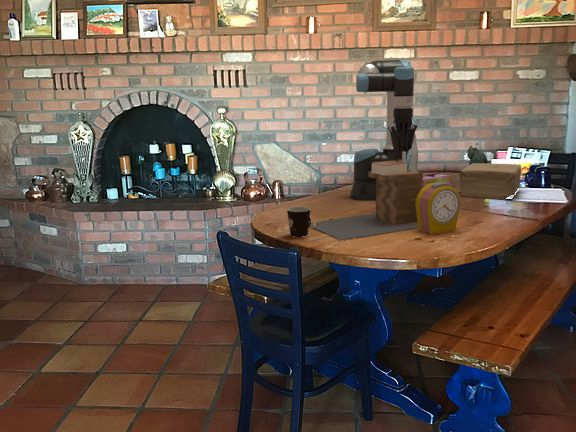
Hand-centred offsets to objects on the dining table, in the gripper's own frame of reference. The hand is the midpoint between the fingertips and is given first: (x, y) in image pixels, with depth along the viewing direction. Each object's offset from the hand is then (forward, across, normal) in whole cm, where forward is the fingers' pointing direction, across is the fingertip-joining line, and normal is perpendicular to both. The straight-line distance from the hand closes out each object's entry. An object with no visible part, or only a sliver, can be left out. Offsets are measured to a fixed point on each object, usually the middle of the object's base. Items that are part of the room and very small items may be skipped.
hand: (401, 167), depth 226 cm
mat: (+22, -15, 0) cm, 26 cm away
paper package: (+22, +72, +20) cm, 78 cm away
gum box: (+22, +27, +15) cm, 38 cm away
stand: (+22, -3, 0) cm, 22 cm away
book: (+2, -6, 0) cm, 6 cm away
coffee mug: (+22, -47, 0) cm, 52 cm away
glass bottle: (+22, +62, +72) cm, 97 cm away
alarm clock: (+22, +2, -20) cm, 30 cm away
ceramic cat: (+22, +100, +56) cm, 117 cm away
